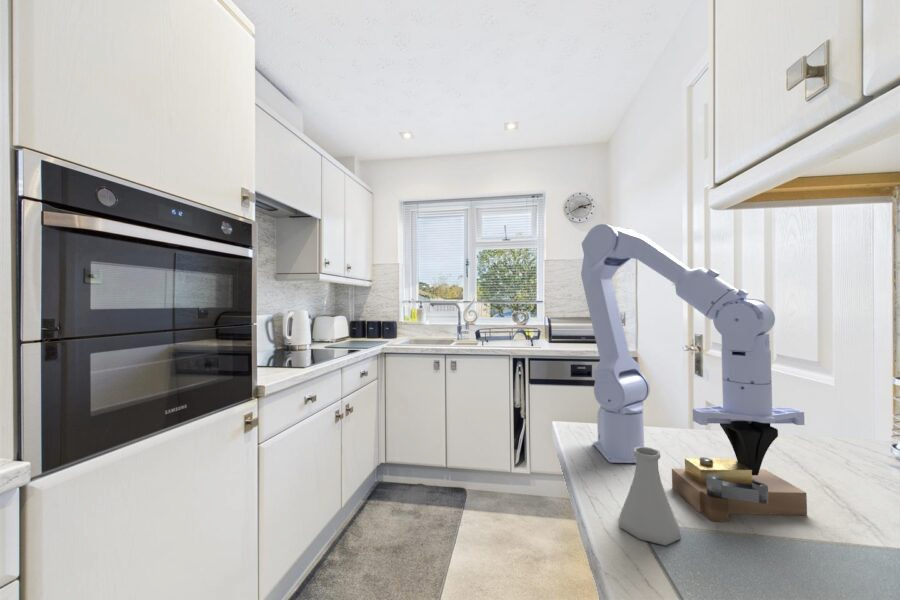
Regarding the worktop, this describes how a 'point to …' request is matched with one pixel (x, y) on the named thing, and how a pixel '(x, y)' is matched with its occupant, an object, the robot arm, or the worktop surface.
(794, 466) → the worktop surface
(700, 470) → the lever cap
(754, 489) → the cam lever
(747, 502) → the body
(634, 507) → the flask
